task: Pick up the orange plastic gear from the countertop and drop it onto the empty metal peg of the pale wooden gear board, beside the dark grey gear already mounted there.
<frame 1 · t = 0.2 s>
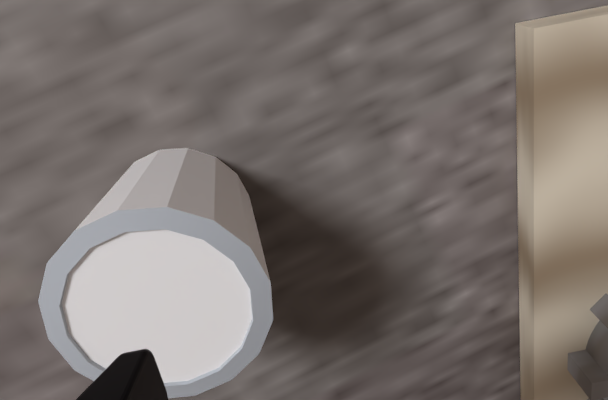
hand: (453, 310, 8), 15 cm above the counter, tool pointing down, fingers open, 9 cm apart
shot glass: (183, 210, 23), on the counter
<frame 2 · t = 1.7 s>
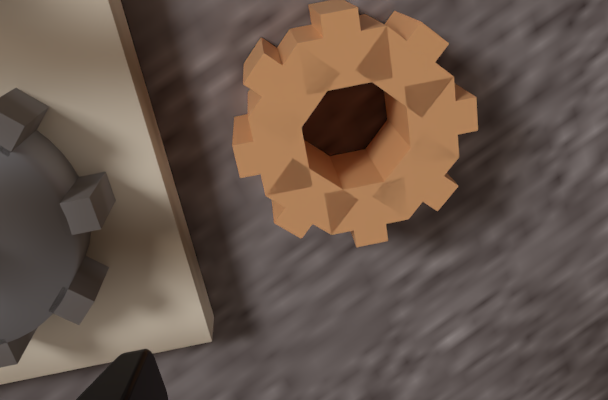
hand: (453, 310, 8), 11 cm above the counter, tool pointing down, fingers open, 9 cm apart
orange gear: (341, 110, 19), on the counter
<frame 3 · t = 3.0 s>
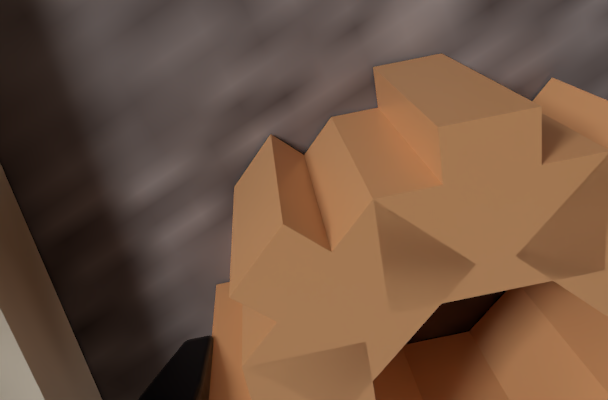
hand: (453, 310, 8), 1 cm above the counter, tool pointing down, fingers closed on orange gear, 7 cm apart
orange gear: (428, 267, 10), on the counter, touching gripper
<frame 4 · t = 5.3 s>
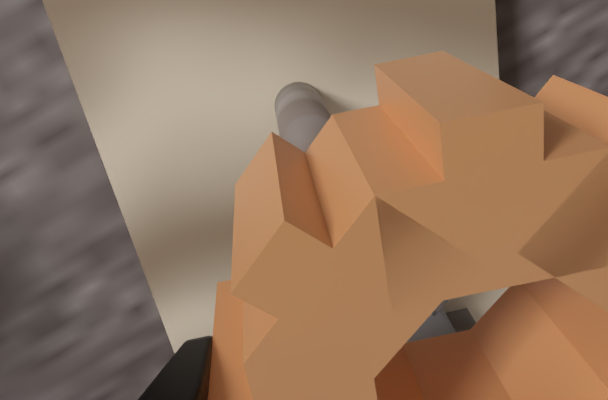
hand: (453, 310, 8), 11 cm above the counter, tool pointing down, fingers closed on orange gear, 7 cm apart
gear board: (320, 217, 20), on the counter
orange gear: (429, 265, 10), point 10 cm above the counter, touching gripper
when the fingers open (4 cm above the counter, at t = 7.6 s): orange gear stays where it is, resting on gear board.
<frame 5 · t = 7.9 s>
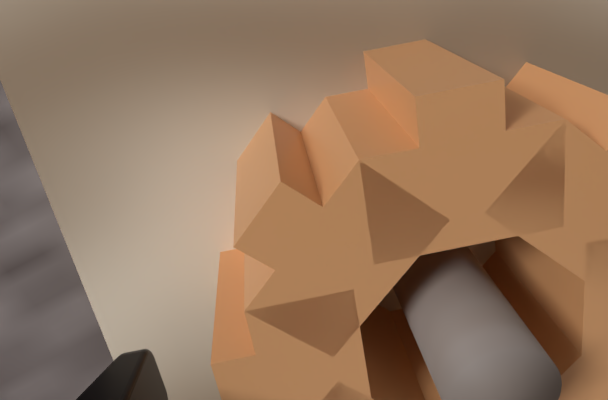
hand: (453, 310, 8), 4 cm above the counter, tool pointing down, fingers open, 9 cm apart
gear board: (414, 372, 14), on the counter
orange gear: (414, 237, 10), point 1 cm above the counter, touching gear board
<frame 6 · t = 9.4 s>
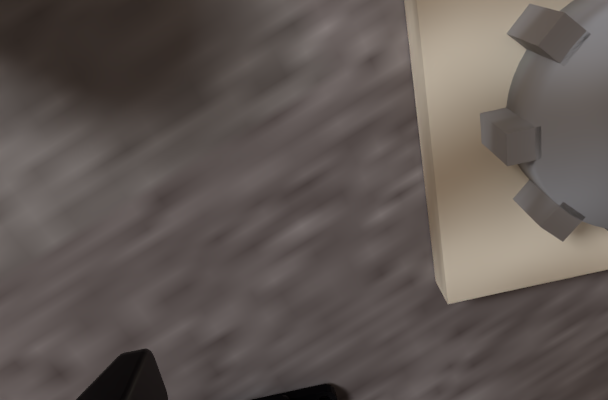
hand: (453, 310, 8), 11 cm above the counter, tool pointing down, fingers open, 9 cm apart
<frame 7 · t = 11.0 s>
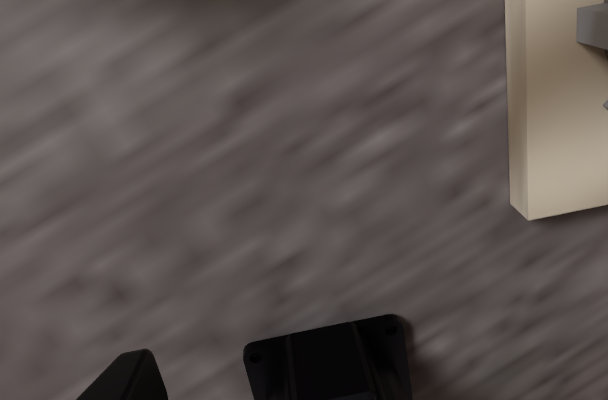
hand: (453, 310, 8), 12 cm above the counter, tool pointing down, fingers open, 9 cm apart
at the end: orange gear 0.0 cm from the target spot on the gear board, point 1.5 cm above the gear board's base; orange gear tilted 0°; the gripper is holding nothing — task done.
